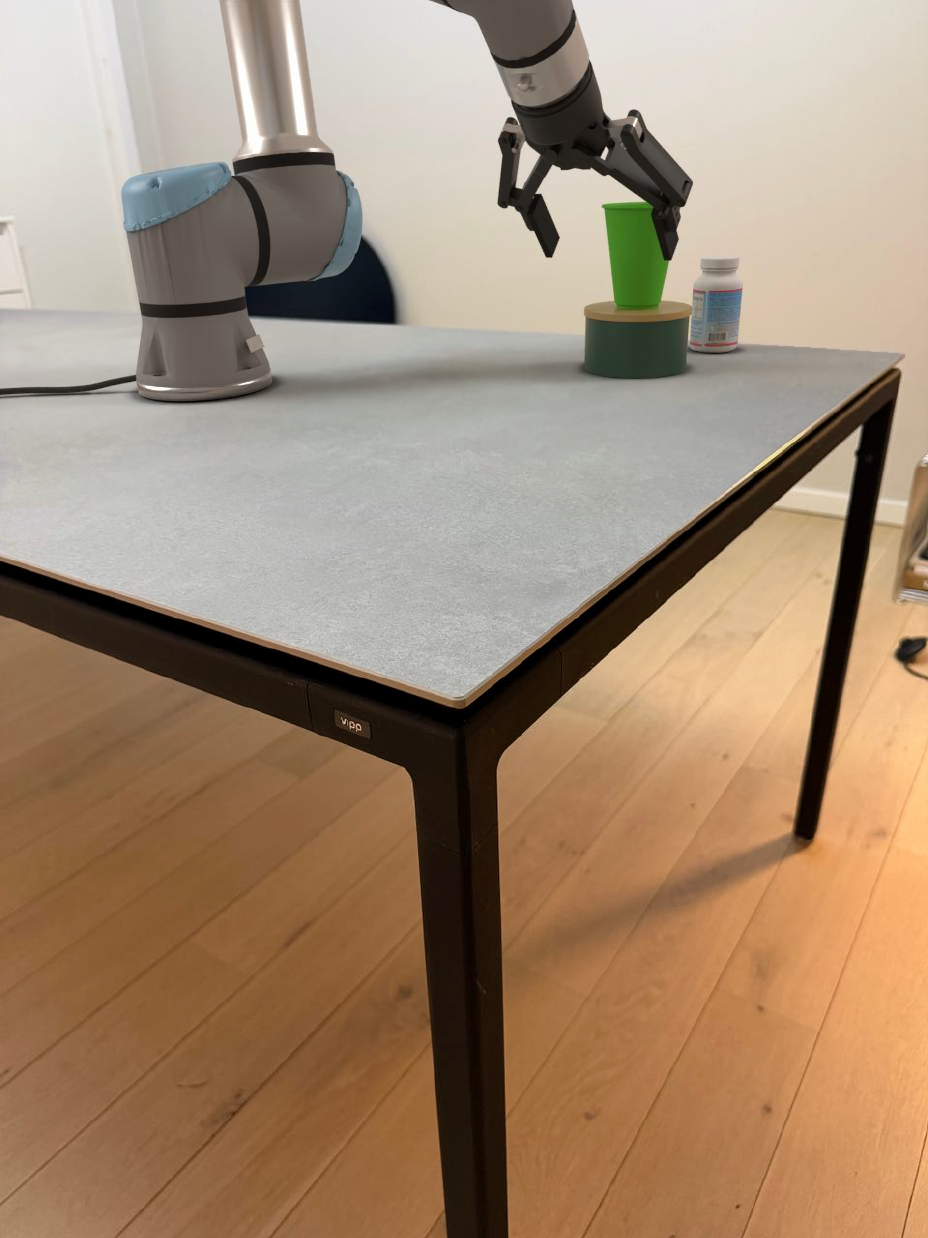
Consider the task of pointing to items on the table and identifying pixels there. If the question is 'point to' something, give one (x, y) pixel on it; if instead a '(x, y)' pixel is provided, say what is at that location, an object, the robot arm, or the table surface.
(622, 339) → the tin
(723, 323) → the pill bottle
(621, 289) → the cup
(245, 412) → the table surface
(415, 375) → the table surface
